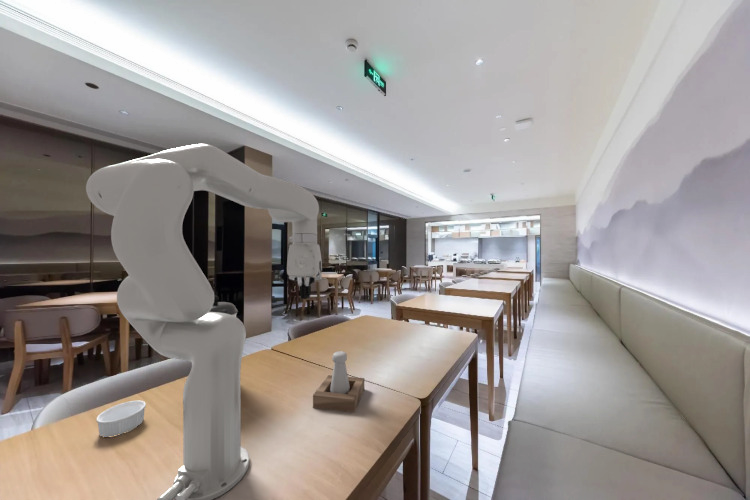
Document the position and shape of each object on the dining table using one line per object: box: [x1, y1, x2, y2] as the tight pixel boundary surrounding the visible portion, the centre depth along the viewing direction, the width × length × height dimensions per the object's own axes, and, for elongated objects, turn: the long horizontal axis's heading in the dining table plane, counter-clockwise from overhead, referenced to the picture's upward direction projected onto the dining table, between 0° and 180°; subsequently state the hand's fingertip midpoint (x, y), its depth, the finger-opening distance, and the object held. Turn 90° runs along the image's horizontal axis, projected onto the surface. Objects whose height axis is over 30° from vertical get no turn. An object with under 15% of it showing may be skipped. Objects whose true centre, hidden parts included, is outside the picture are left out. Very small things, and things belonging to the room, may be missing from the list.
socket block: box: [312, 374, 365, 413], centre depth 77 cm, size 12×12×4 cm
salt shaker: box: [330, 350, 350, 394], centre depth 77 cm, size 6×6×13 cm
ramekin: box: [96, 399, 147, 438], centre depth 65 cm, size 9×9×4 cm
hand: (305, 298), depth 82 cm, fingers closed
